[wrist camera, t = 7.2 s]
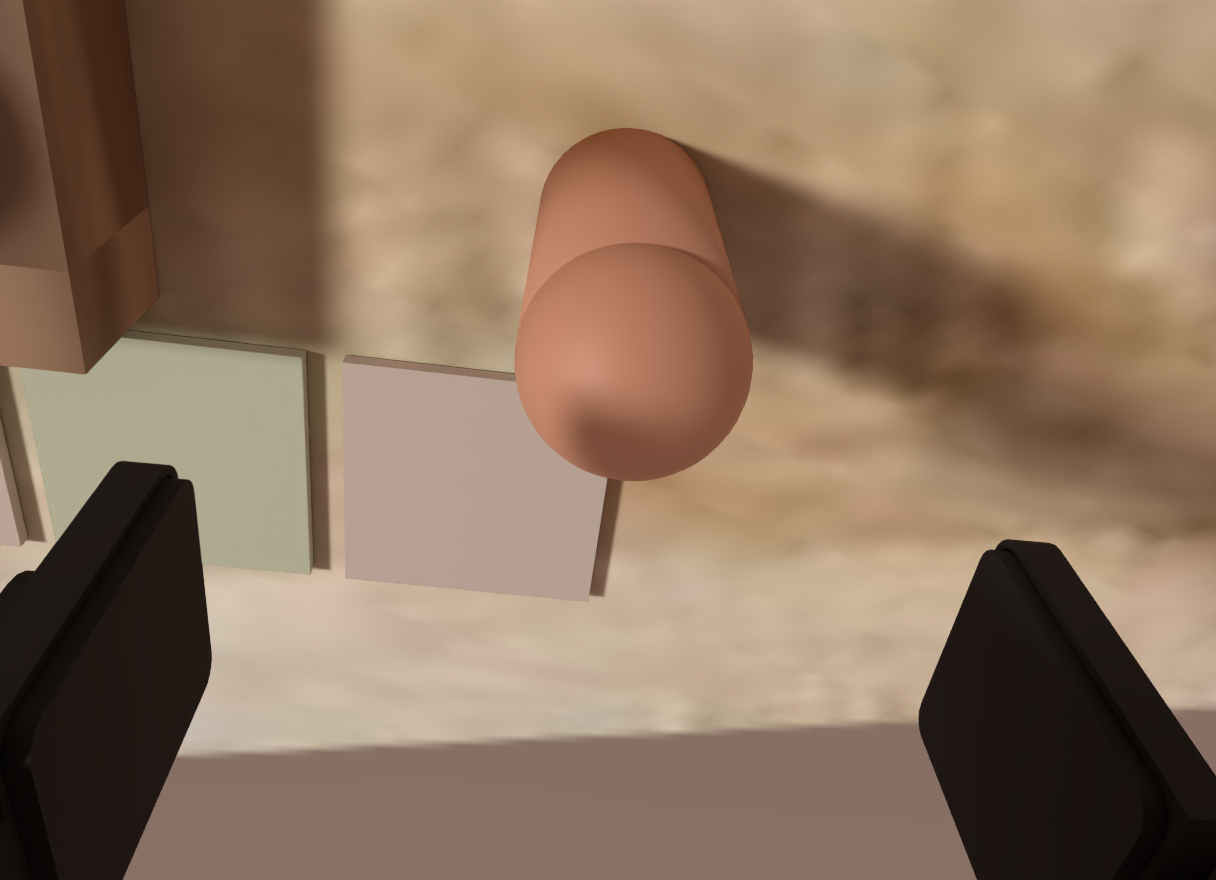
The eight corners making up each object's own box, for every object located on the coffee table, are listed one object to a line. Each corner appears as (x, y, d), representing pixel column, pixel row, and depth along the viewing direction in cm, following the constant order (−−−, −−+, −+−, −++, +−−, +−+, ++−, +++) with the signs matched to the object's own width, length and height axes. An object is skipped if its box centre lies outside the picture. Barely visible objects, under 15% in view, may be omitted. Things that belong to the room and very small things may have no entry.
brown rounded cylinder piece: (725, 140, 22) (796, 319, 14) (694, 303, 24) (740, 540, 16) (548, 116, 22) (515, 285, 14) (532, 284, 24) (495, 515, 16)
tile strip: (620, 386, 25) (620, 393, 25) (588, 592, 29) (588, 601, 29) (-324, 279, 24) (-338, 286, 23) (-232, 512, 27) (-243, 521, 27)
